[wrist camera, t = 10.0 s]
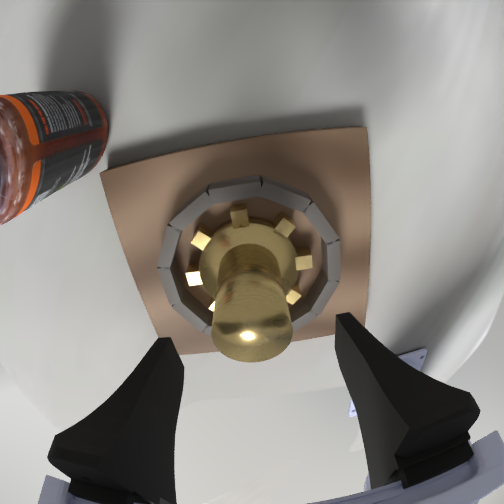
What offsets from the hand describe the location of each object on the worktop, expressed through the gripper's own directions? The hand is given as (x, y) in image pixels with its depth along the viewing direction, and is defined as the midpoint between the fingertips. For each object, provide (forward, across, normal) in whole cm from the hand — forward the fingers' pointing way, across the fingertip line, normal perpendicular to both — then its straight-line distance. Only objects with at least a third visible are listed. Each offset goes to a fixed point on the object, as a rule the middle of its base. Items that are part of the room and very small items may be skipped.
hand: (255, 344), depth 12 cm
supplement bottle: (+9, +10, -11) cm, 17 cm away
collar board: (+8, 0, 0) cm, 9 cm away
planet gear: (+7, 0, 0) cm, 7 cm away
